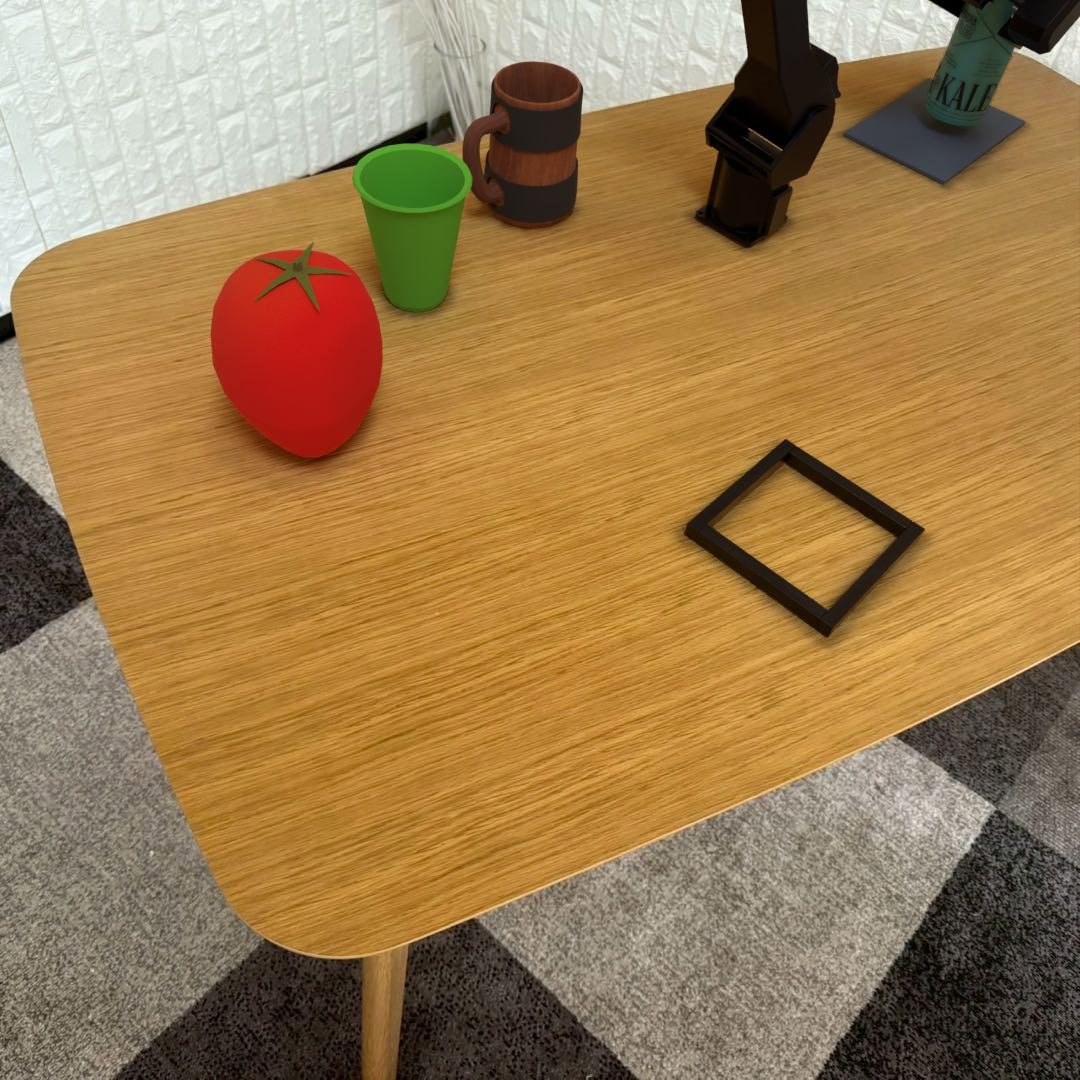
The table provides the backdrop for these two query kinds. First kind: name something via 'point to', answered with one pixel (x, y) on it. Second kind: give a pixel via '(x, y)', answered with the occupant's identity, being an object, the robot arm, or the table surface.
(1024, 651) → the table surface
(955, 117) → the beverage bottle
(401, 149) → the cup
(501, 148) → the mug
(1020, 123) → the table mat
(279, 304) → the tomato
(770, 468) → the black square frame
